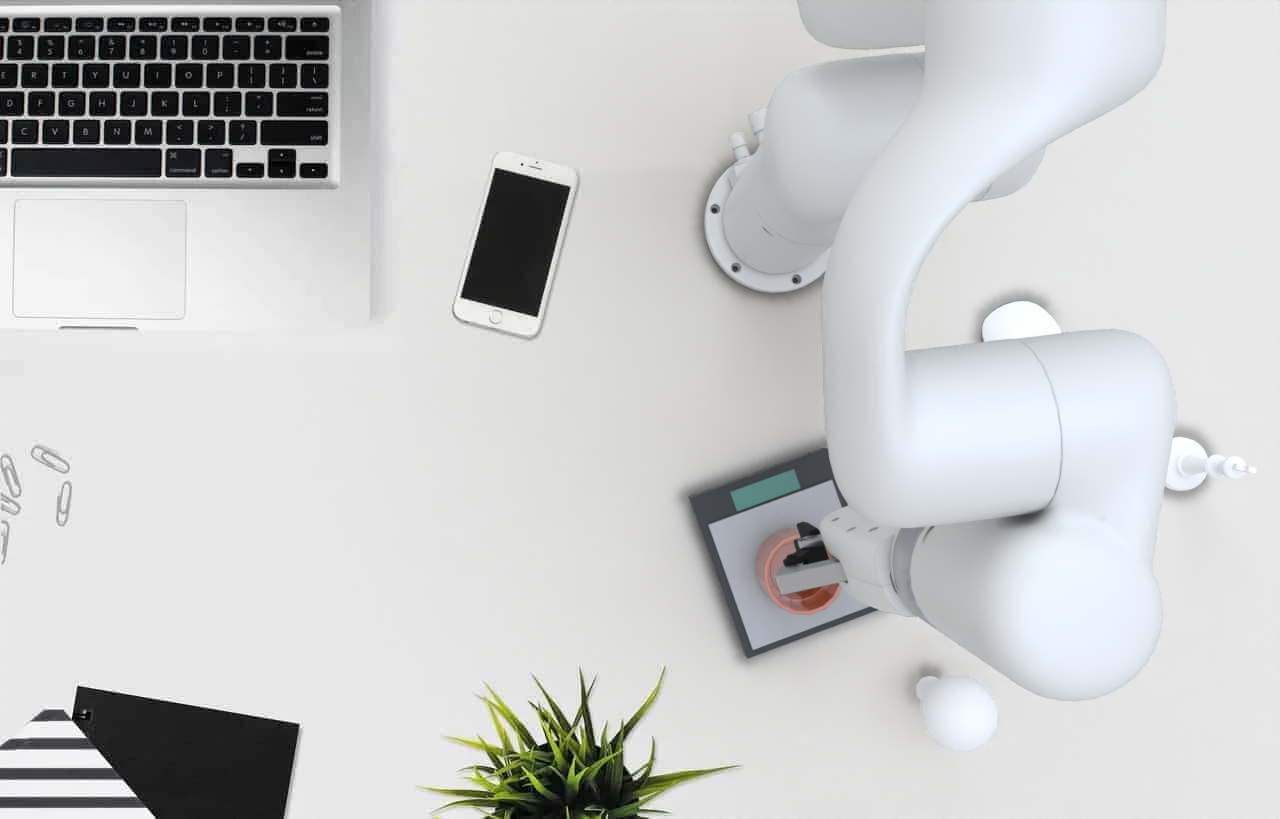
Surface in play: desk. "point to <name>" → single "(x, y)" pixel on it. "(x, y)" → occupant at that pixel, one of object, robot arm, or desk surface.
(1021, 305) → the computer mouse
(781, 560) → the bowl
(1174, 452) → the chess piece
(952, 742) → the lightbulb
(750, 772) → the desk surface
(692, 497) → the scale
